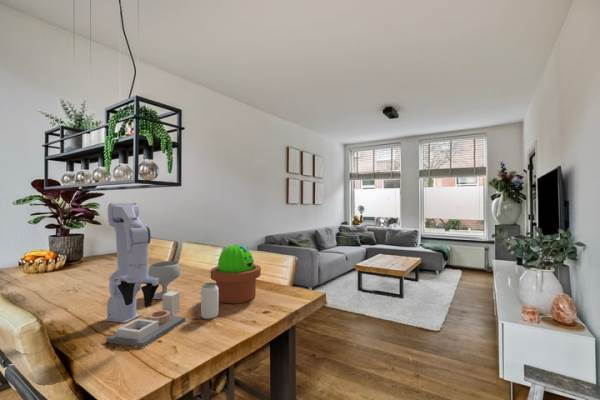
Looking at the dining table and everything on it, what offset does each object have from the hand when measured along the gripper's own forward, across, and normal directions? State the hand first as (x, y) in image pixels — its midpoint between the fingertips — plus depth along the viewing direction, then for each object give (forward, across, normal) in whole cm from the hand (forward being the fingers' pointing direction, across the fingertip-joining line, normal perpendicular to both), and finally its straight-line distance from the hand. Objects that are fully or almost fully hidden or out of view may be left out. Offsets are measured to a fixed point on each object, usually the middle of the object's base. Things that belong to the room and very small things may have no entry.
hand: (138, 305), depth 95 cm
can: (+11, +13, +22) cm, 27 cm away
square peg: (+10, -3, +20) cm, 22 cm away
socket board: (+10, 0, +4) cm, 11 cm away
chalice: (+11, -21, +38) cm, 44 cm away
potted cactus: (+11, +13, +44) cm, 47 cm away
